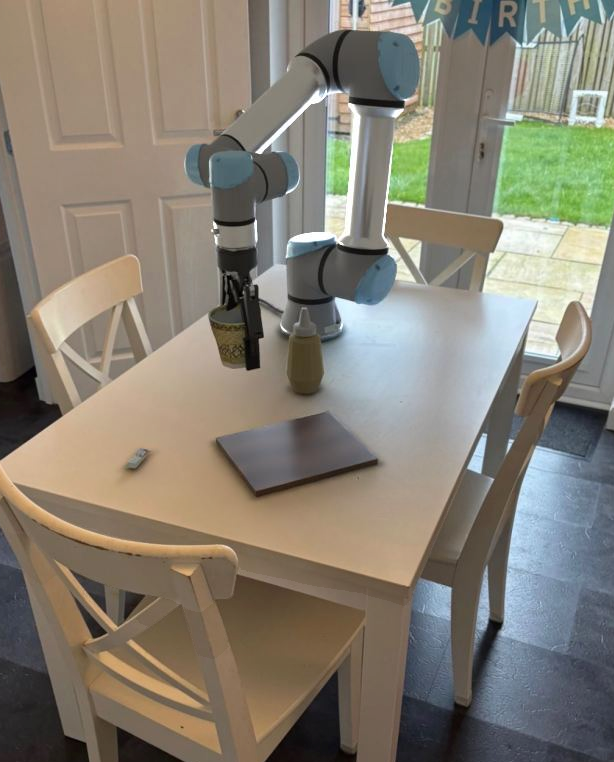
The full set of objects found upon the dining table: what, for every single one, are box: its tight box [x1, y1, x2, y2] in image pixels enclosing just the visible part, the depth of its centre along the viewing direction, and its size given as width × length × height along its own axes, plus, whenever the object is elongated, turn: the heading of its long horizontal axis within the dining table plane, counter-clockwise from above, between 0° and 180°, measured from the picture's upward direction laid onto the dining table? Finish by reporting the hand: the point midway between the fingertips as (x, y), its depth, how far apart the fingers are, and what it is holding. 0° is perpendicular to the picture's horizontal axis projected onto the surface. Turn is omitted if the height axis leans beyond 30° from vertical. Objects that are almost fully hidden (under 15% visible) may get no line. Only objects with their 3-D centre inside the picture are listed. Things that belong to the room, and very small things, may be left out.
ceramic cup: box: [207, 304, 262, 370], centre depth 152 cm, size 13×10×10 cm
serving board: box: [215, 410, 379, 498], centre depth 146 cm, size 20×24×1 cm
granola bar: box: [123, 448, 152, 469], centre depth 143 cm, size 7×2×1 cm, turn 164°
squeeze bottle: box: [285, 307, 325, 395], centre depth 163 cm, size 8×8×18 cm
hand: (243, 358), depth 154 cm, fingers closed on ceramic cup, 9 cm apart
